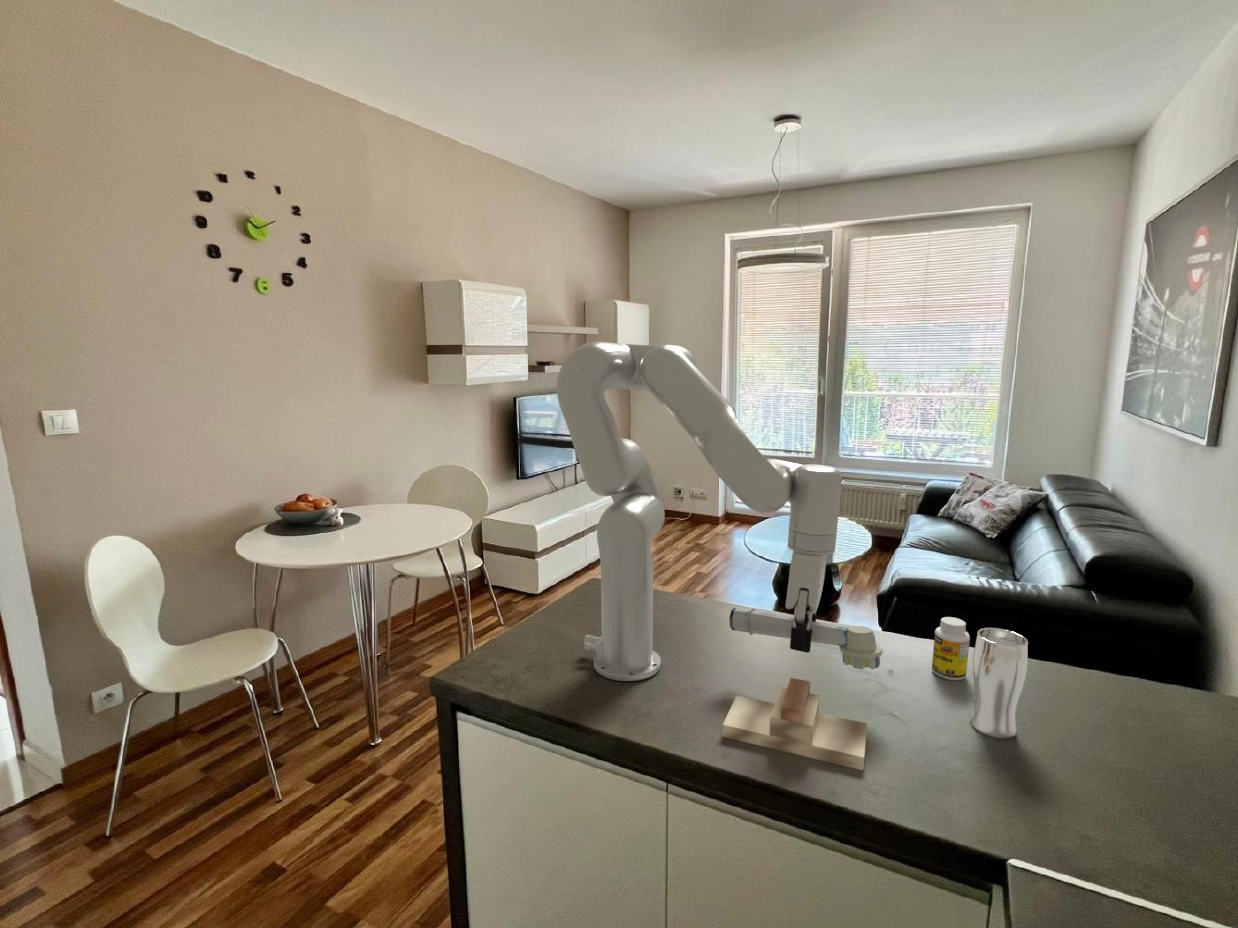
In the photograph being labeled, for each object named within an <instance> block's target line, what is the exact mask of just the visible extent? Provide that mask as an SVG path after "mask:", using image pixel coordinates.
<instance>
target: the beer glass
mask: <svg viewBox="0 0 1238 928" xmlns="http://www.w3.org/2000/svg"><path fill="white" fill-rule="evenodd" d="M1028 645H1029V641H1028V639H1027V638H1026V637H1024V636H1023V635H1022V634H1020V633H1017V632H1015V631H1013V630H1012V631H1011V630H1009V629H1005V628H1004V629H1003V628H998V627H984V628H980V629H979V630H977V635H976V640H975V645H974V650H973V657H972V658H973V660H972V661H973V662H972V669H973V670H972V671H973V682H974V690H975V691H974V692H975V693H974V694H975V703H974V708H973V712H972V714H971V718H970V723H971V725H972V727H973V728H974V729H975V730H976V731H978V732H979V733H981V734H983V735H986V736H989V737H992V738H995V739H1001V740H1002V739H1003V740H1007V739H1012V738H1014V737H1016V735H1017V726H1016V724H1017V723H1016V709H1017V705H1018V702H1019V699H1020V696H1021V693H1022V691H1023V687H1024V685H1025V680H1026V676H1027V669H1028V657H1029V656H1028V654H1029V652H1028V649H1029V648H1028Z"/></svg>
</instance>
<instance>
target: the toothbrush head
mask: <svg viewBox="0 0 1238 928" xmlns="http://www.w3.org/2000/svg"><path fill="white" fill-rule="evenodd" d="M793 618H794V616H793V617H791V616H787V615H786V616H785V615H781V614H777V613H772V612H771V613H770V612H766V611H762V610H761V611H759V610H756V609H755V608H754V607H752V608H750V609H747V608H740V607H733V609H731V610H730V614H729V617H728V621H729V627H730V628H731V630H732V631H734V632H735V631H736V632H742V633H748V634H749V635H750V636H752V635H754V634H755V635H762V636H763V635H764V636H768V637H769V636H770V637H775V638H776V637H777V638H783V639H790V640H791V628H792V625H793ZM810 629H812V636H811V643H819V644H825V645H833V646H839V651H840V653H841V654H842V662H843V664H844V665H845V666H848V665H849V666H852V667H853V669H859V670H864V668H869V669H871V670H876V669H878V668H879V667H880V665H881V663H880V662H881V658H880V657H881V656H882V654H883V648H882V647H881V646H880V645H879V644H877V642H876V635H875V633H874V631H873V629H871V628H870V627H866V626H862V625H851V626H848V627H845V626H840V625H839V626H838V625H835V624H834V625H833V624H829V623H824V622H820V621H819V622H817V621H816V622H814V621H811V628H810Z"/></svg>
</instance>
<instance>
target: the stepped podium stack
mask: <svg viewBox="0 0 1238 928" xmlns="http://www.w3.org/2000/svg"><path fill="white" fill-rule="evenodd" d="M820 697H821V696H820V694H815V693H811V681H809V680H805V679H800V678H795V677H790V678H789V681H788V685H787V687H786V688H785V687H780V688H779V691H778V694H777V696H776V699H775V701H774V703H772V702H768V701H764V700H758V699H753V698H749V697H745V696H741V695H740V696H739V695H736V696H735V697H734V700H733V702H732V703H731V706H730V708H729V710H728V713H727V715H726V716H725V719H724V720H723V721H724V722H723V724H722V738H727V739H729V740H730V739H731V740H735V741H739V742H743V743H745V744H746V743H747V744H751V745H755V746H758V747H759V746H760V747H763V748H764V747H765V748H767V749H771V750H776V751H780V752H784V753H787V754H793V755H796V756H802V757H805V758H809V759H814V760H818V761H822V762H827V763H830V764H835V765H839V766H843V767H847V768H851V769H856V770H859V771H864V769H865V767H864V765H865V754H866V739H867V729H868V728H867V726H868V723H867V722H862V721H858V720H853V719H848V718H845V717H839V716H834V715H829V714H825V713H820V701H821V700H820Z"/></svg>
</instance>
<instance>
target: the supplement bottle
mask: <svg viewBox="0 0 1238 928" xmlns="http://www.w3.org/2000/svg"><path fill="white" fill-rule="evenodd" d="M939 625H940V626H938V627H936V629H935V630H934V640H933V650H932V651H933V652H932V662H931V670H932V672H933V673H934V674H935V675H936V676H938V677H940V678H942V679H944V680H945V679H946V680H950V681H961V680H963V679H965V678H966V676H967V671H968V670H967V669H968V660H969V651H970V650H969V649H970V640H971V638H970V637H971V636H970V634H969V632H968V631H967V630H966V627H967V623H966V622H965V621H964V620H962V619H960V618H957V617H954V616H953V617H952V616H944V617H942V618H941V619H940V624H939Z"/></svg>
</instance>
